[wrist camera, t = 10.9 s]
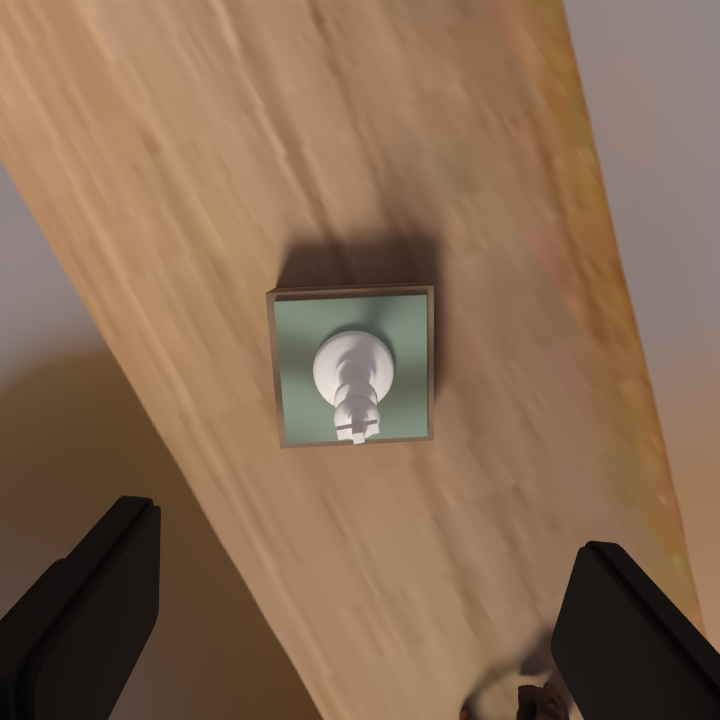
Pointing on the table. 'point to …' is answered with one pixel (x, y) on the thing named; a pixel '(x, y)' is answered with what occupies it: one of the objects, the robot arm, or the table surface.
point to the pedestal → (352, 313)
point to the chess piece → (354, 381)
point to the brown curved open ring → (537, 704)
